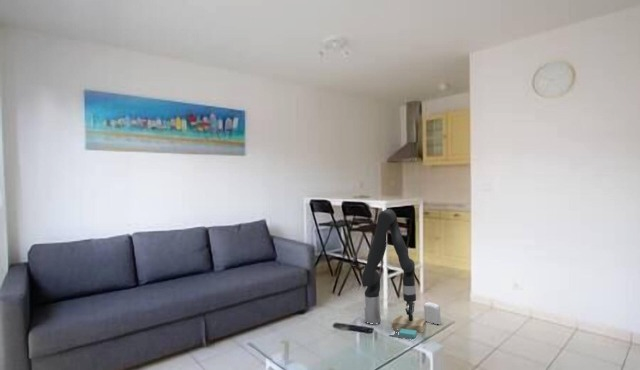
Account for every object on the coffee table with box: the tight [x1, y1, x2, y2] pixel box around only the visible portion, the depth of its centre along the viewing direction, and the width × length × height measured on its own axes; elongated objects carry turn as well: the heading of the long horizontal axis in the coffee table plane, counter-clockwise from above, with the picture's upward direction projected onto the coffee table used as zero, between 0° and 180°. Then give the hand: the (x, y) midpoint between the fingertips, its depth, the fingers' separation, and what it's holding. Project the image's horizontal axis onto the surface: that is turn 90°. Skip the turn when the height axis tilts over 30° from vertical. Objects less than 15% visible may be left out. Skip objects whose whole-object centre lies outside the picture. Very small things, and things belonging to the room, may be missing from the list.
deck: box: [391, 314, 427, 334], centre depth 217 cm, size 18×12×4 cm, turn 62°
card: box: [399, 329, 418, 339], centre depth 205 cm, size 9×6×2 cm, turn 62°
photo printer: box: [423, 301, 442, 325], centre depth 222 cm, size 10×4×12 cm, turn 39°
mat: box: [388, 329, 413, 341], centre depth 207 cm, size 13×10×1 cm
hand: (410, 320), depth 214 cm, fingers closed
